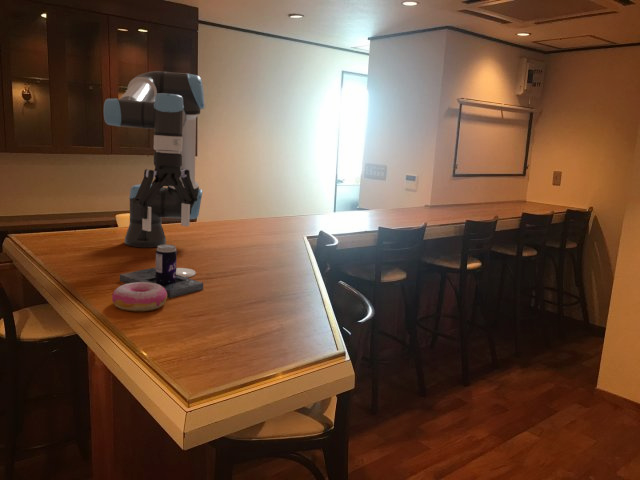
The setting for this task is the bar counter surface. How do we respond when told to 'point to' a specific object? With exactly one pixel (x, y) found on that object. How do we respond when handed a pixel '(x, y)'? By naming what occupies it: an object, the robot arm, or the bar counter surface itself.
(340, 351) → the bar counter surface
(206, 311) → the bar counter surface
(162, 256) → the beverage can
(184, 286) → the grey board with hole
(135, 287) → the donut
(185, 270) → the coaster
